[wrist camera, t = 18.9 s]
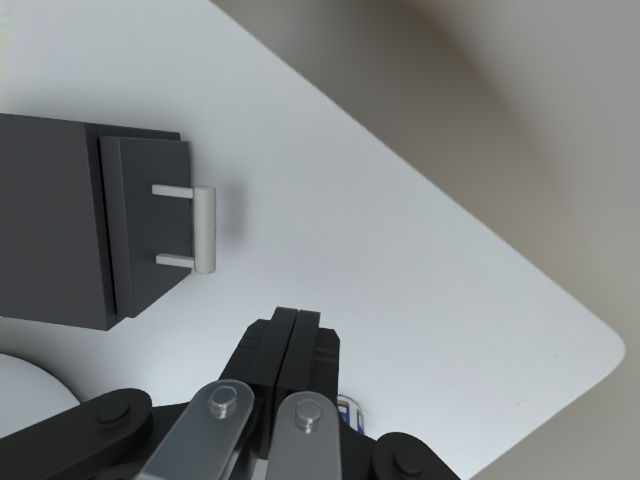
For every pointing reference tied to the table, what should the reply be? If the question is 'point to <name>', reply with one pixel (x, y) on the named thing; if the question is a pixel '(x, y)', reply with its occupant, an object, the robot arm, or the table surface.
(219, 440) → the robot arm
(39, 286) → the small drawer cabinet
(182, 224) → the cabinet drawer
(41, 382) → the pot
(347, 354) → the table surface
